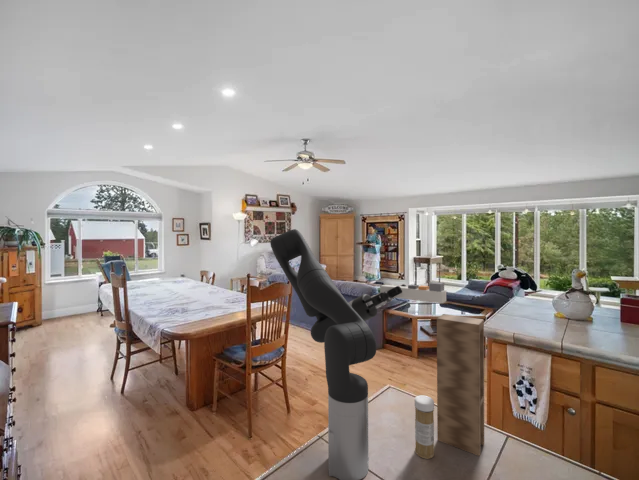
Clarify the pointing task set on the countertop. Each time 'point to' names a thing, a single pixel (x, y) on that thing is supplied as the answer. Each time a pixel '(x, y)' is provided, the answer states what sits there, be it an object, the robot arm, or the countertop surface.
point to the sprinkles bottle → (424, 426)
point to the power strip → (420, 292)
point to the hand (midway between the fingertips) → (403, 288)
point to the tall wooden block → (460, 382)
